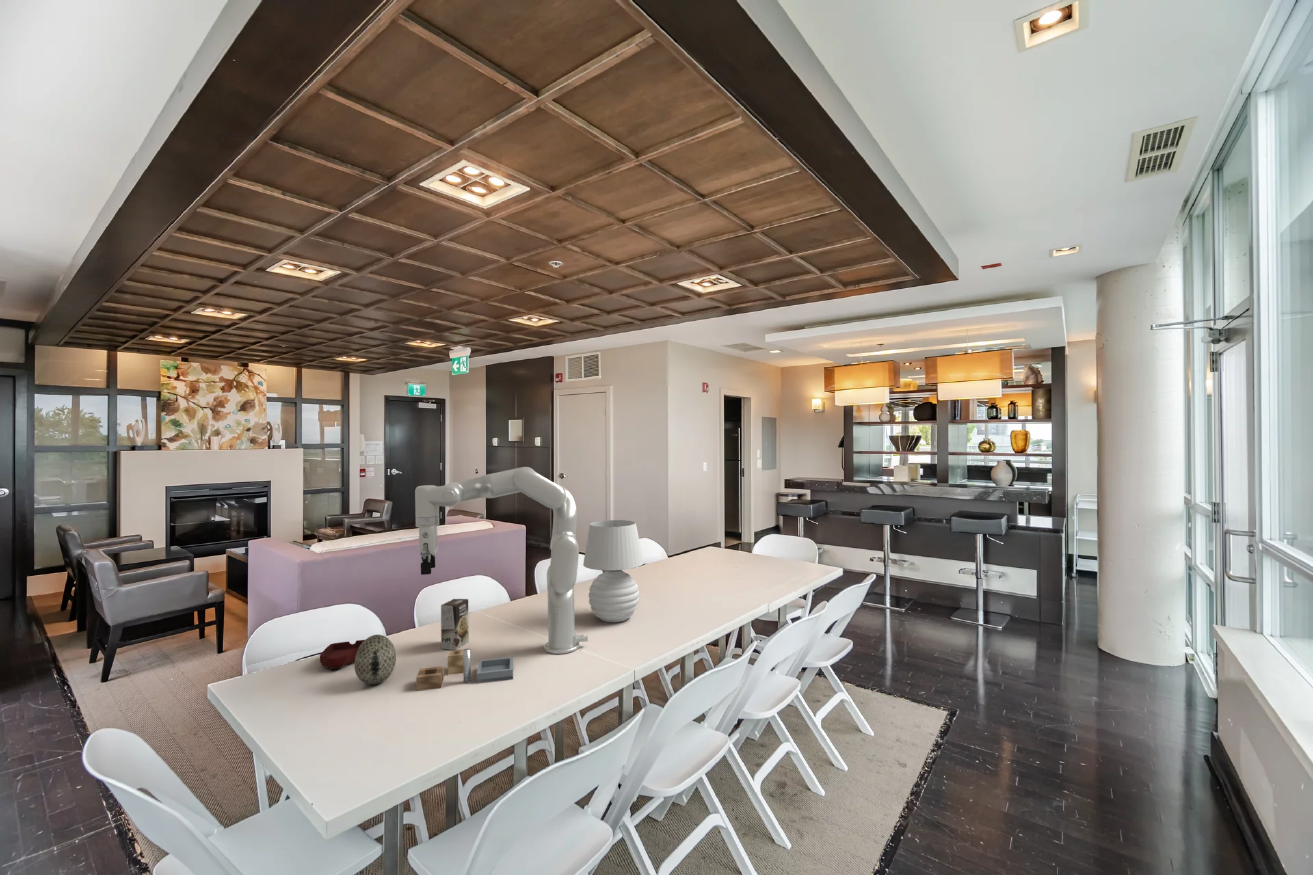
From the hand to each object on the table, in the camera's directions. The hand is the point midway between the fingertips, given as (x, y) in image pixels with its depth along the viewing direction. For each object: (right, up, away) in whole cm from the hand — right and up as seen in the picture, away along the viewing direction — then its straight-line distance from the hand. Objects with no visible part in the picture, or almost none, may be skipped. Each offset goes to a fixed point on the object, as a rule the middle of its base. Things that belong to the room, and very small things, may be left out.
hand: (428, 571), depth 198 cm
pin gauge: (+19, -31, -17) cm, 40 cm away
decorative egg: (-10, -32, -17) cm, 37 cm away
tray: (+26, -31, -12) cm, 42 cm away
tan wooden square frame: (+8, -31, -19) cm, 37 cm away
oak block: (+13, -31, -8) cm, 35 cm away
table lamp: (+61, -30, +44) cm, 81 cm away
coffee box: (+4, -31, +15) cm, 35 cm away
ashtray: (-30, -32, +2) cm, 44 cm away
